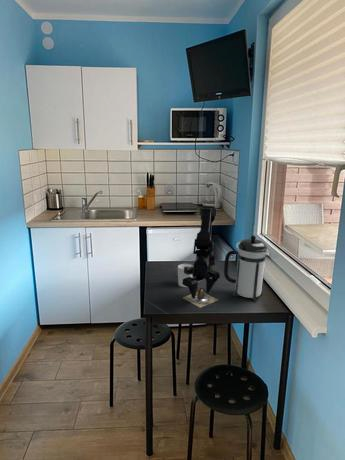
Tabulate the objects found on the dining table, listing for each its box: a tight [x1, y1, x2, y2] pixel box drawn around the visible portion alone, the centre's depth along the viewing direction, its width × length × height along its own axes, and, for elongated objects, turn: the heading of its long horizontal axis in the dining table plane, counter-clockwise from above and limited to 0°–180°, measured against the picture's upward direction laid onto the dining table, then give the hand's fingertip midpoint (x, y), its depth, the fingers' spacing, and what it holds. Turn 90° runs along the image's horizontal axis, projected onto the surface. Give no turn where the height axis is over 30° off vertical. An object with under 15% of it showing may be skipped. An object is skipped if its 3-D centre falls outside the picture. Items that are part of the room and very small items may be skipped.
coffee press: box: [223, 234, 270, 303], centre depth 154 cm, size 17×16×30 cm
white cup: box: [177, 263, 194, 288], centre depth 166 cm, size 8×8×10 cm
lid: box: [191, 287, 210, 303], centre depth 152 cm, size 9×9×5 cm
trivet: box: [182, 291, 219, 309], centre depth 152 cm, size 12×12×1 cm
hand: (200, 295), depth 152 cm, fingers open, 9 cm apart
